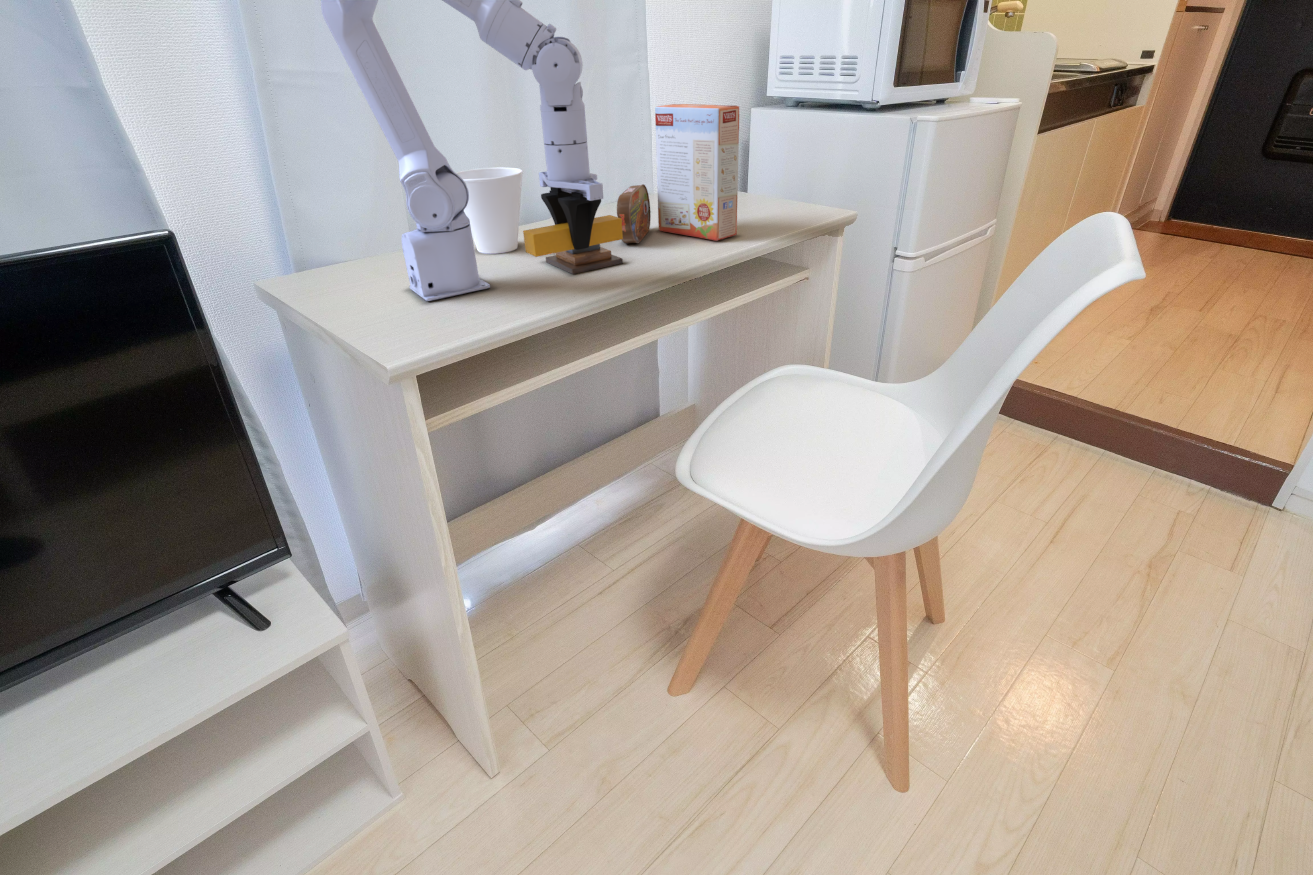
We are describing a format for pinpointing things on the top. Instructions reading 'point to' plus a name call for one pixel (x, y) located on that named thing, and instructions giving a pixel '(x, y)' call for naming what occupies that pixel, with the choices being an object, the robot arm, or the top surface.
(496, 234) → the cup
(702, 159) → the cracker box
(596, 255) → the brown stepped stand
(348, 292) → the top surface
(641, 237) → the tin
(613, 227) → the bar
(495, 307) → the top surface
